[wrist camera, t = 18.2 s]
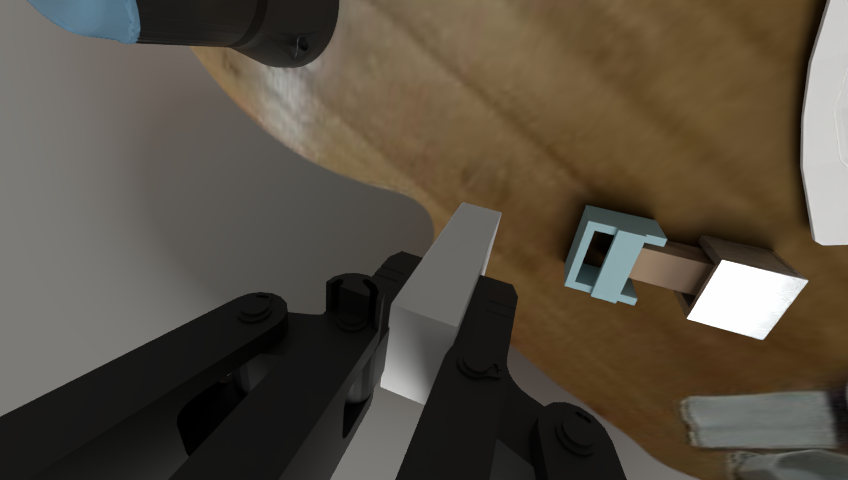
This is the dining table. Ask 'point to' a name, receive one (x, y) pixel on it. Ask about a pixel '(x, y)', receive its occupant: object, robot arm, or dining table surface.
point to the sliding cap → (610, 253)
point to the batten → (673, 266)
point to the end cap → (742, 288)
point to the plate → (827, 129)
